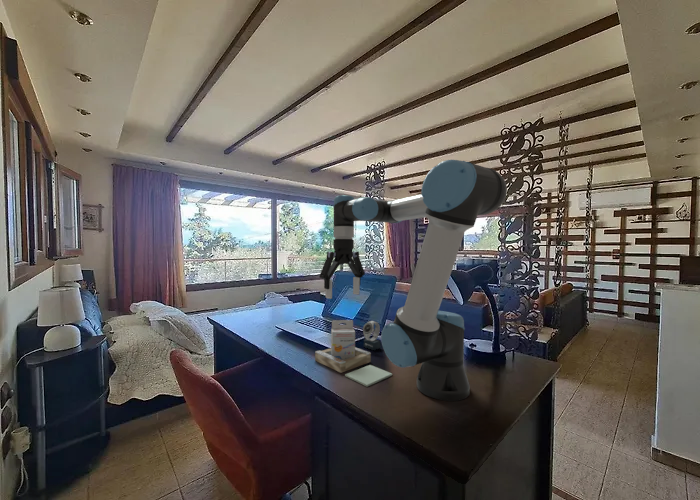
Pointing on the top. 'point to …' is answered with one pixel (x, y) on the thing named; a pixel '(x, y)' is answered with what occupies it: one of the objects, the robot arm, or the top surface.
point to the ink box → (342, 339)
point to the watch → (367, 330)
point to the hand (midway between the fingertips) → (343, 296)
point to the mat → (368, 375)
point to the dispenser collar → (342, 365)
